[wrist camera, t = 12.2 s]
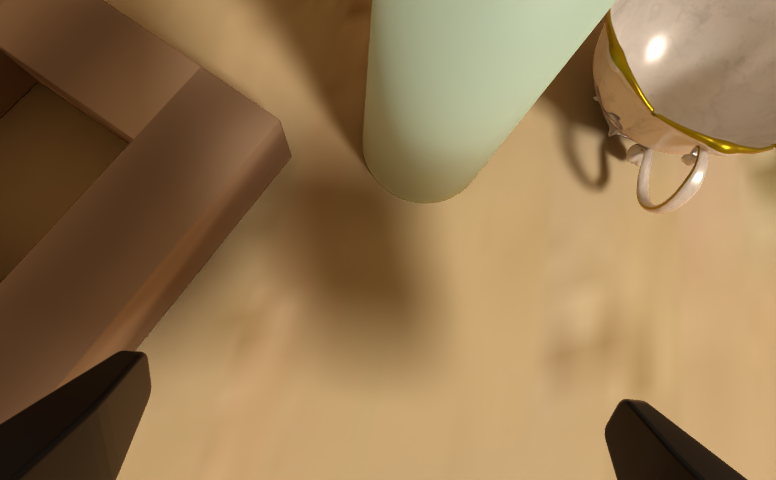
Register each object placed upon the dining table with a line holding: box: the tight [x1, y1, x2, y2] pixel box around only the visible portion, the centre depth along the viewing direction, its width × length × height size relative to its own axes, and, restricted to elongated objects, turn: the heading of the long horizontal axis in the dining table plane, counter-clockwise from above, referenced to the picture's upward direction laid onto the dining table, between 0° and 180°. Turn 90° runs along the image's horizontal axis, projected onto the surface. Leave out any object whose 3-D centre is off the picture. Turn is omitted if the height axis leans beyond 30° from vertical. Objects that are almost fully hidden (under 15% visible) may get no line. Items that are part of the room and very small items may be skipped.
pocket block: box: [0, 0, 291, 424], centre depth 15 cm, size 13×13×3 cm
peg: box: [362, 0, 616, 203], centre depth 13 cm, size 5×5×11 cm
